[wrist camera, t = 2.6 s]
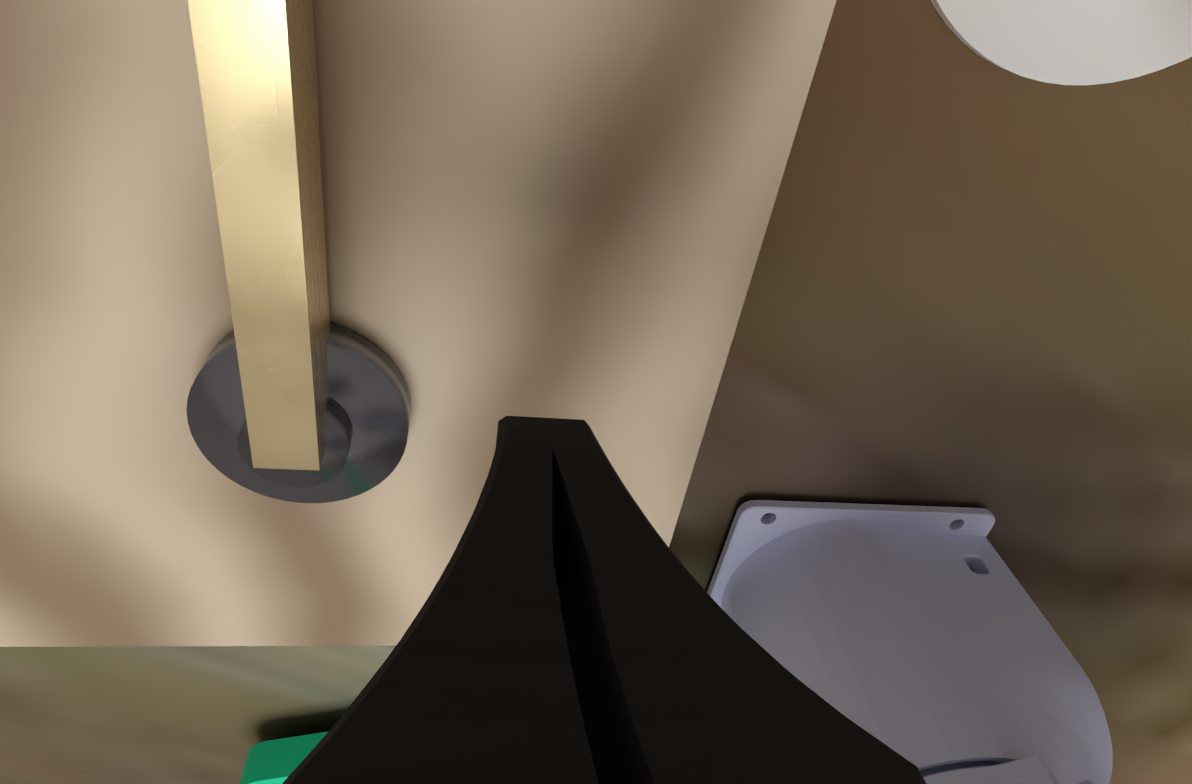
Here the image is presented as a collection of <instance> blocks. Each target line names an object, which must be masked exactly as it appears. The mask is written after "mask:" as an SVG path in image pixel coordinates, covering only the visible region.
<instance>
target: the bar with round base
mask: <svg viewBox="0 0 1192 784" xmlns="http://www.w3.org/2000/svg"><path fill="white" fill-rule="evenodd" d="M188 6H189V13H190V21H191V28H192V35H193V42H194V49H195V56H196V63H197V70H198V78H199V85H200V92H201V99H202V106H203V113H204V120H205V128H206V135H207V142H208V149H209V156H210V163H211V170H212V177H213V185H214V192H215V199H216V206H217V213H218V220H219V227H220V235H221V242H222V249H223V256H224V263H225V270H226V277H227V284H228V292H229V299H230V306H231V313H232V320H233V327H234V331H233V332H231V333H230V334H228V335H227V336H226V337H224V338H223V339H222V340H221V341H220V342H219V343H218V344H217V345H216V346H215V347H214V349H213V350H212V351H211V353H210V354H209V356H208V357H207V359H206V361H205V363H204V364H203V366H202V368H201V370H200V371H199V373H198V375H197V377H196V378H195V380H194V382H193V384H192V386H191V389H190V392H189V395H188V399H187V410H186V411H187V421H188V425H189V428H190V432H191V434H192V437H193V439H194V441H195V443H196V445H197V446H198V448H199V449H200V451H201V452H202V454H203V455H204V456H205V457H206V459H207V460H208V461H209V462H210V463H211V464H212V465H213V466H214V467H215V468H216V469H217V470H218V471H220V472H221V473H222V474H224V475H225V476H226V477H228V478H229V479H230V480H232V481H234V482H235V483H237V484H239V485H241V486H242V487H244V488H247V489H249V490H251V491H253V492H256V493H258V494H261V495H264V496H267V497H270V498H274V499H278V500H283V501H289V502H296V503H327V502H335V501H340V500H345V499H348V498H351V497H354V496H357V495H360V494H362V493H364V492H366V491H369V490H370V489H372V488H374V487H375V486H377V485H378V484H380V483H381V482H382V481H383V480H385V479H386V478H387V477H388V476H389V475H390V474H391V473H392V472H393V471H394V469H395V468H396V467H397V465H398V464H399V462H400V460H401V458H402V456H403V454H404V451H405V448H406V444H407V438H408V431H409V424H410V417H411V397H410V393H409V389H408V386H407V383H406V381H405V378H404V376H403V375H402V373H401V371H400V370H399V368H398V366H397V365H396V364H395V363H394V361H393V360H392V359H391V357H390V356H389V355H388V354H387V353H385V352H384V351H383V350H382V349H381V348H380V347H379V346H378V345H376V344H375V343H374V342H373V341H371V340H370V339H368V338H367V337H365V336H363V335H362V334H360V333H358V332H356V331H354V330H352V329H350V328H348V327H346V326H343V325H340V324H337V323H334V322H331V321H329V302H328V284H327V266H326V247H325V229H324V211H323V193H322V174H321V156H320V138H319V119H318V101H317V83H316V64H315V46H314V28H313V9H312V0H188Z"/></svg>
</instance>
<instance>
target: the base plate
mask: <svg viewBox="0 0 1192 784" xmlns="http://www.w3.org/2000/svg"><path fill="white" fill-rule="evenodd" d="M835 4H836V0H312V9H313V28H314V46H315V64H316V83H317V101H318V119H319V138H320V156H321V174H322V193H323V211H324V229H325V247H326V266H327V284H328V302H329V321H331V322H334V323H337V324H340V325H343V326H346V327H348V328H350V329H352V330H354V331H356V332H358V333H360V334H362V335H363V336H365V337H367V338H368V339H370V340H371V341H373V342H374V343H375V344H376V345H378V346H379V347H380V348H381V349H382V350H383V351H384V352H385V353H387V354H388V355H389V356H390V357H391V359H392V360H393V361H394V363H395V364H396V365H397V366H398V368H399V370H400V371H401V373H402V375H403V376H404V378H405V381H406V383H407V386H408V389H409V393H410V397H411V417H410V424H409V431H408V438H407V444H406V448H405V451H404V454H403V456H402V458H401V460H400V462H399V464H398V465H397V467H396V468H395V469H394V471H393V472H392V473H391V474H390V475H389V476H388V477H387V478H386V479H385V480H383V481H382V482H381V483H380V484H378V485H377V486H375V487H374V488H372V489H370V490H369V491H366V492H364V493H362V494H360V495H357V496H354V497H351V498H348V499H345V500H340V501H335V502H327V503H296V502H289V501H283V500H278V499H274V498H270V497H267V496H264V495H261V494H258V493H256V492H253V491H251V490H249V489H247V488H244V487H242V486H241V485H239V484H237V483H235V482H234V481H232V480H230V479H229V478H228V477H226V476H225V475H224V474H222V473H221V472H220V471H218V470H217V469H216V468H215V467H214V466H213V465H212V464H211V463H210V462H209V461H208V460H207V459H206V457H205V456H204V455H203V454H202V452H201V451H200V449H199V448H198V446H197V445H196V443H195V441H194V439H193V437H192V434H191V432H190V428H189V425H188V421H187V411H186V410H187V399H188V395H189V392H190V389H191V386H192V384H193V382H194V380H195V378H196V377H197V375H198V373H199V371H200V370H201V368H202V366H203V364H204V363H205V361H206V359H207V357H208V356H209V354H210V353H211V351H212V350H213V349H214V347H215V346H216V345H217V344H218V343H219V342H220V341H221V340H222V339H223V338H224V337H226V336H227V335H228V334H230V333H231V332H233V331H234V327H233V320H232V313H231V306H230V299H229V292H228V284H227V277H226V270H225V263H224V256H223V249H222V242H221V235H220V227H219V220H218V213H217V206H216V199H215V192H214V185H213V177H212V170H211V163H210V156H209V149H208V142H207V135H206V128H205V120H204V113H203V106H202V99H201V92H200V85H199V78H198V70H197V63H196V56H195V49H194V42H193V35H192V28H191V21H190V13H189V6H188V0H0V647H64V646H396V645H397V644H398V642H399V641H400V640H401V638H402V637H403V635H404V634H405V632H406V631H407V629H408V628H409V626H410V625H411V623H412V622H413V620H414V619H415V617H416V616H417V614H418V613H419V611H420V610H421V608H422V607H423V605H424V603H425V602H426V600H427V599H428V597H429V595H430V594H431V592H432V590H433V589H434V587H435V585H436V584H437V582H438V580H439V579H440V577H441V575H442V573H443V572H444V570H445V568H446V566H447V564H448V563H449V561H450V559H451V557H452V555H453V553H454V551H455V549H456V547H457V545H458V543H459V541H460V539H461V537H462V535H463V533H464V531H465V529H466V527H467V525H468V523H469V520H470V518H471V516H472V514H473V512H474V510H475V507H476V505H477V502H478V500H479V497H480V494H481V492H482V489H483V487H484V484H485V481H486V479H487V476H488V473H489V470H490V467H491V464H492V460H493V457H494V453H495V448H496V438H497V429H498V421H499V420H501V419H502V418H504V417H505V416H523V417H541V418H560V419H579V420H585V421H586V422H587V424H588V425H589V426H590V428H591V430H592V431H593V433H594V435H595V437H596V439H597V441H598V442H599V444H600V446H601V448H602V449H603V451H604V453H605V455H606V456H607V458H608V460H609V461H610V463H611V465H612V466H613V468H614V469H615V471H616V473H617V474H618V476H619V478H620V479H621V481H622V482H623V484H624V485H625V487H626V488H627V490H628V491H629V493H630V494H631V496H632V497H633V499H634V500H635V502H636V503H637V505H638V506H639V507H640V509H641V510H642V512H643V513H644V515H645V516H646V518H647V519H648V521H649V522H650V523H651V525H652V526H653V527H654V529H655V530H656V531H657V533H658V534H659V535H660V537H661V538H662V539H663V541H664V542H665V543H666V544H667V546H668V547H669V545H670V542H671V539H672V536H673V532H674V529H675V526H676V523H677V519H678V516H679V513H680V510H681V506H682V503H683V500H684V496H685V493H686V490H687V487H688V483H689V480H690V477H691V474H692V470H693V467H694V464H695V461H696V457H697V454H698V451H699V448H700V444H701V441H702V438H703V434H704V431H705V428H706V425H707V421H708V418H709V415H710V412H711V408H712V405H713V402H714V399H715V395H716V392H717V389H718V385H719V382H720V379H721V376H722V372H723V369H724V366H725V363H726V359H727V356H728V353H729V350H730V346H731V343H732V340H733V337H734V333H735V330H736V327H737V323H738V320H739V317H740V314H741V310H742V307H743V304H744V301H745V297H746V294H747V291H748V288H749V284H750V281H751V278H752V274H753V271H754V268H755V265H756V261H757V258H758V255H759V252H760V248H761V245H762V242H763V239H764V235H765V232H766V229H767V226H768V222H769V219H770V216H771V212H772V209H773V206H774V203H775V199H776V196H777V193H778V190H779V186H780V183H781V180H782V177H783V173H784V170H785V167H786V163H787V160H788V157H789V154H790V150H791V147H792V144H793V141H794V137H795V134H796V131H797V128H798V124H799V121H800V118H801V115H802V111H803V108H804V105H805V101H806V98H807V95H808V92H809V88H810V85H811V82H812V79H813V75H814V72H815V69H816V66H817V62H818V59H819V56H820V52H821V49H822V46H823V43H824V39H825V36H826V33H827V30H828V26H829V23H830V20H831V17H832V13H833V10H834V7H835Z"/></svg>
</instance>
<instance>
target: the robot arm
mask: <svg viewBox="0 0 1192 784" xmlns="http://www.w3.org/2000/svg"><path fill="white" fill-rule="evenodd" d="M767 513H770V514H768V515H766V516H763V515H765V514H767ZM994 523H995V517H994V516H993V515H992V513H991V512H990V511H989V510H988V509H985V508H967V507H939V506H911V505H884V504H856V503H828V502H800V501H773V500H749V501H747V502H744V503H743V504H742V505H741V506H740V507H739V508H738V510H737V512H736V515H735V517H734V520H733V523H732V526H731V528H730V531H729V534H728V537H727V539H726V542H725V545H724V547H723V550H722V553H721V556H720V558H719V561H718V564H717V567H716V569H715V572H714V575H713V577H712V580H711V583H710V586H709V588H708V591H707V592H706V591H705V590H704V589H703V588H702V587H701V586H700V584H699V583H698V582H697V581H696V580H695V579H694V578H693V576H692V575H691V574H690V573H689V572H688V571H687V569H686V568H685V567H684V566H683V565H682V563H681V562H680V561H679V560H678V558H677V557H676V556H675V555H674V553H673V552H672V551H671V550H670V548H669V547H668V546H667V544H666V543H665V542H664V541H663V539H662V538H661V537H660V535H659V534H658V533H657V531H656V530H655V529H654V527H653V526H652V525H651V523H650V522H649V521H648V519H647V518H646V516H645V515H644V513H643V512H642V510H641V509H640V507H639V506H638V505H637V503H636V502H635V500H634V499H633V497H632V496H631V494H630V493H629V491H628V490H627V488H626V487H625V485H624V484H623V482H622V481H621V479H620V478H619V476H618V474H617V473H616V471H615V469H614V468H613V466H612V465H611V463H610V461H609V460H608V458H607V456H606V455H605V453H604V451H603V449H602V448H601V446H600V444H599V442H598V441H597V439H596V437H595V435H594V433H593V431H592V430H591V428H590V426H589V425H588V424H587V422H586V421H585V420H579V419H560V418H541V417H523V416H505V417H504V418H502V419H501V420H499V421H498V429H497V438H496V448H495V453H494V457H493V460H492V464H491V467H490V470H489V473H488V476H487V479H486V481H485V484H484V487H483V489H482V492H481V494H480V497H479V500H478V502H477V505H476V507H475V510H474V512H473V514H472V516H471V518H470V520H469V523H468V525H467V527H466V529H465V531H464V533H463V535H462V537H461V539H460V541H459V543H458V545H457V547H456V549H455V551H454V553H453V555H452V557H451V559H450V561H449V563H448V564H447V566H446V568H445V570H444V572H443V573H442V575H441V577H440V579H439V580H438V582H437V584H436V585H435V587H434V589H433V590H432V592H431V594H430V595H429V597H428V599H427V600H426V602H425V603H424V605H423V607H422V608H421V610H420V611H419V613H418V614H417V616H416V617H415V619H414V620H413V622H412V623H411V625H410V626H409V628H408V629H407V631H406V632H405V634H404V635H403V637H402V638H401V640H400V641H399V642H398V644H397V645H396V647H395V648H394V650H393V651H392V652H391V654H390V655H389V656H388V658H387V659H386V661H385V662H384V663H383V665H382V666H381V667H380V668H379V670H378V671H377V672H376V673H375V675H374V676H373V677H372V679H371V680H370V681H369V682H368V684H367V685H366V686H365V688H364V689H363V690H362V691H361V693H360V694H359V695H358V696H357V698H356V699H355V700H354V702H353V703H352V704H351V705H350V707H349V708H348V709H347V711H346V712H345V713H344V714H343V715H342V717H341V718H340V719H339V720H338V721H337V723H336V724H335V725H334V726H333V727H332V728H331V730H330V731H329V732H328V733H327V734H326V735H325V736H324V737H323V738H322V740H321V741H320V742H319V743H318V744H317V745H316V746H315V747H314V748H313V750H312V751H311V752H310V753H309V754H308V755H307V756H306V757H305V758H304V760H303V761H302V762H301V763H300V764H299V765H298V766H297V767H296V769H295V770H294V771H293V772H292V773H291V774H290V775H289V776H288V777H287V779H286V780H285V781H284V782H283V783H282V784H1109V782H1110V778H1111V773H1112V765H1113V752H1112V744H1111V737H1110V733H1109V729H1108V725H1107V721H1106V717H1105V714H1104V711H1103V708H1102V706H1101V703H1100V701H1099V698H1098V696H1097V693H1096V692H1095V690H1094V688H1093V686H1092V684H1091V682H1090V680H1089V678H1088V677H1087V675H1086V674H1085V672H1084V671H1083V669H1082V668H1081V666H1080V665H1079V663H1078V662H1077V661H1076V659H1075V658H1074V657H1073V655H1072V654H1071V653H1070V651H1069V650H1068V648H1067V647H1066V646H1065V644H1064V643H1063V642H1062V640H1061V639H1060V638H1059V636H1058V635H1057V633H1056V632H1055V631H1054V629H1053V628H1052V627H1051V625H1050V624H1049V623H1048V621H1047V620H1046V618H1045V617H1044V616H1043V614H1042V613H1041V612H1040V610H1039V609H1038V608H1037V606H1036V605H1035V603H1034V602H1033V601H1032V599H1031V598H1030V597H1029V595H1028V594H1027V593H1026V591H1025V590H1024V588H1023V587H1022V586H1021V584H1020V583H1019V582H1018V580H1017V579H1016V578H1015V576H1014V575H1013V573H1012V572H1011V571H1010V569H1009V568H1008V567H1007V565H1006V564H1005V563H1004V561H1003V560H1002V558H1001V557H1000V556H999V554H998V553H997V552H996V550H995V549H994V548H993V546H992V545H991V543H990V542H989V541H988V539H987V538H986V536H987V535H988V533H989V532H990V530H991V529H992V527H993V525H994Z"/></svg>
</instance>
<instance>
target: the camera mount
mask: <svg viewBox="0 0 1192 784" xmlns="http://www.w3.org/2000/svg"><path fill="white" fill-rule="evenodd" d="M328 732H329V731H328ZM328 732H321V733H315V734H308V735H302V736H295V737H289V738H282V739H276V740H269V741H264V742H261V743H258V744H256V745H254V746H253V747H252V748H251V749H250V750H249V753H248V756H247V760H246V764H245V767H244V771H243V775H242V778H241V782H240V784H282V783H283V782H284V781H285V780H286V779H287V777H288V776H289V775H290V774H291V773H292V772H293V771H294V770H295V769H296V767H297V766H298V765H299V764H300V763H301V762H302V761H303V760H304V758H305V757H306V756H307V755H308V754H309V753H310V752H311V751H312V750H313V748H314V747H315V746H316V745H317V744H318V743H319V742H320V741H321V740H322V738H323V737H324V736H325V735H326V734H327V733H328Z"/></svg>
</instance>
